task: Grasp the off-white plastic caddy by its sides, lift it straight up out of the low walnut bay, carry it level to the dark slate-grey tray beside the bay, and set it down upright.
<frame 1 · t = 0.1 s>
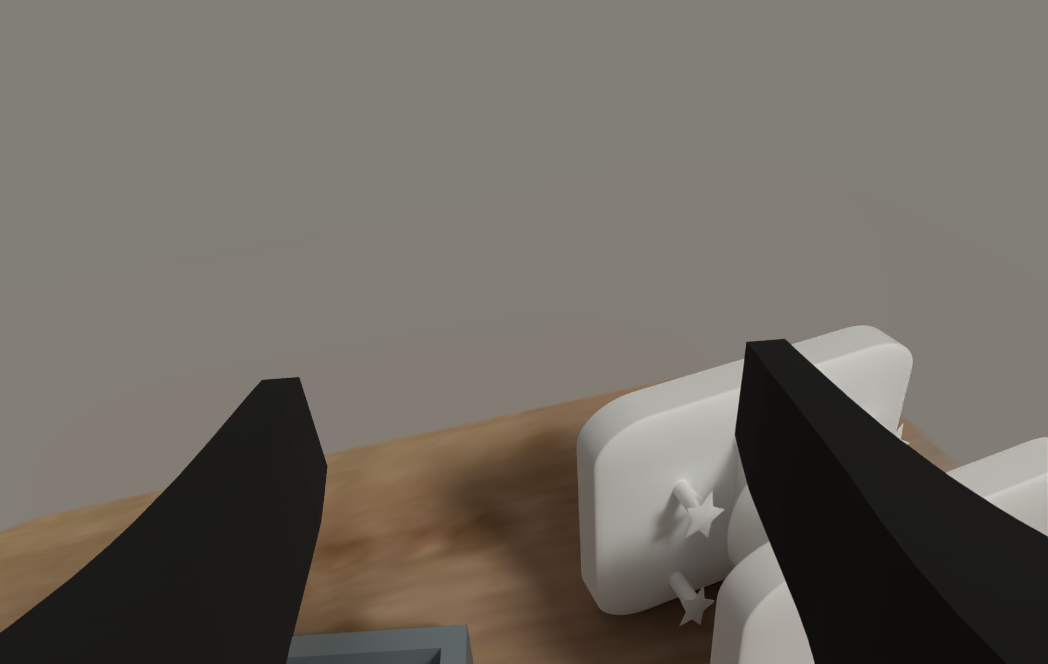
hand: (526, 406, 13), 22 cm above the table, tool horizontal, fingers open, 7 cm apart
cable organizer: (785, 634, 34), on the table
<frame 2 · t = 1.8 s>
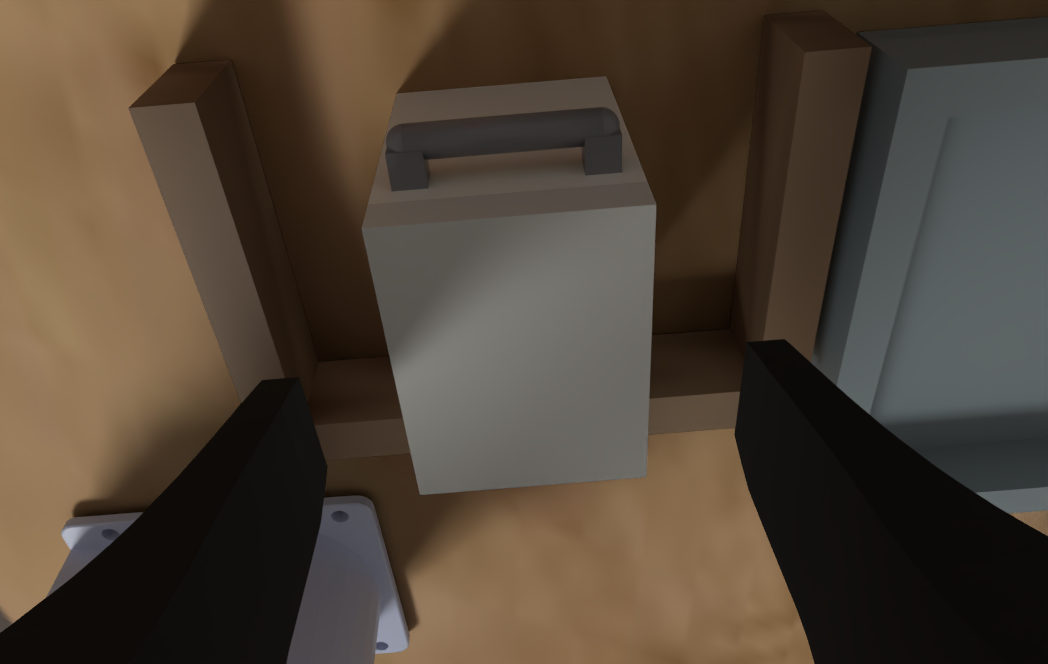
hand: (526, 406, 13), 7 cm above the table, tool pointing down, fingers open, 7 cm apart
walnut bay: (512, 211, 18), on the table
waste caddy: (512, 209, 18), on the table
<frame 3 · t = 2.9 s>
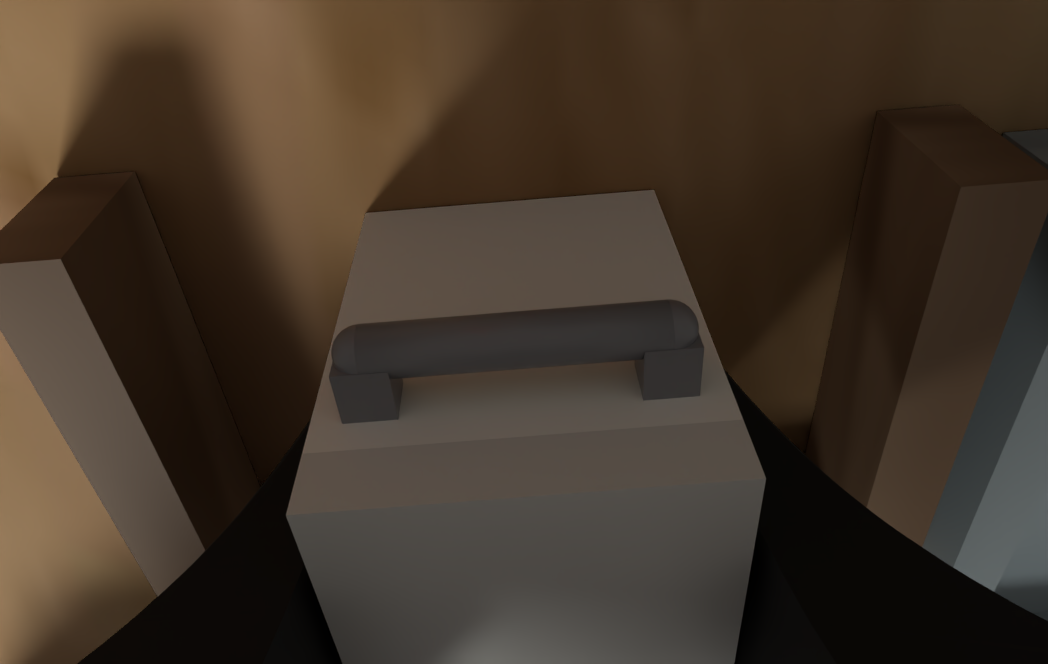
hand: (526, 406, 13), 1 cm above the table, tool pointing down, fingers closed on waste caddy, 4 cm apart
walnut bay: (523, 353, 14), on the table
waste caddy: (522, 352, 14), on the table, touching gripper
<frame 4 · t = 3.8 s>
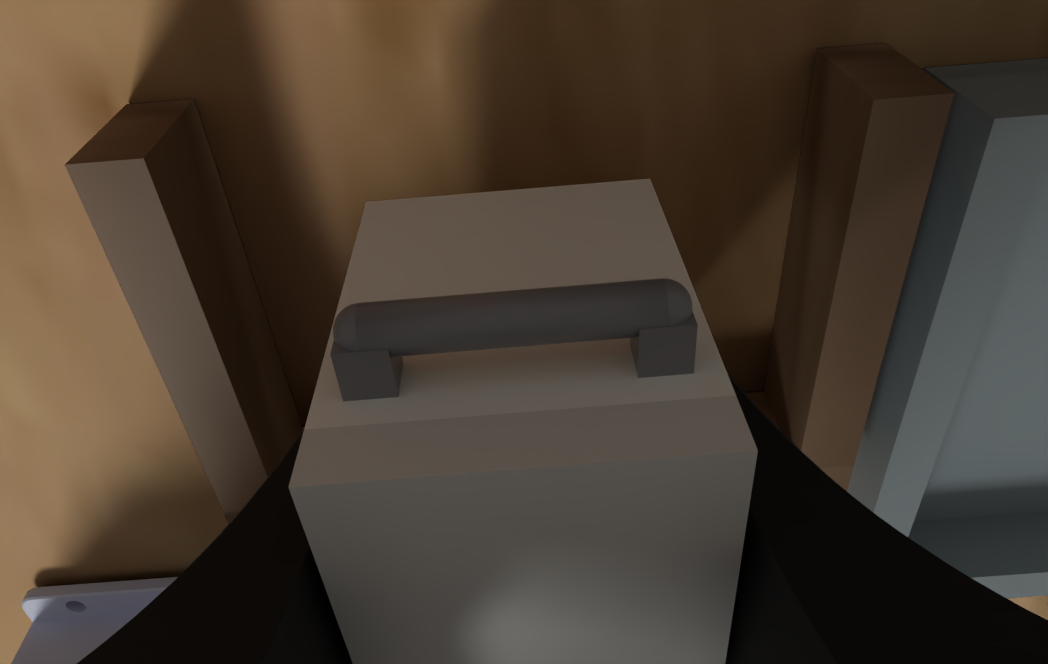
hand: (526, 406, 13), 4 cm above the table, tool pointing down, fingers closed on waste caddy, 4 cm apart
walnut bay: (520, 266, 16), on the table
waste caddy: (521, 341, 14), point 3 cm above the table, touching gripper
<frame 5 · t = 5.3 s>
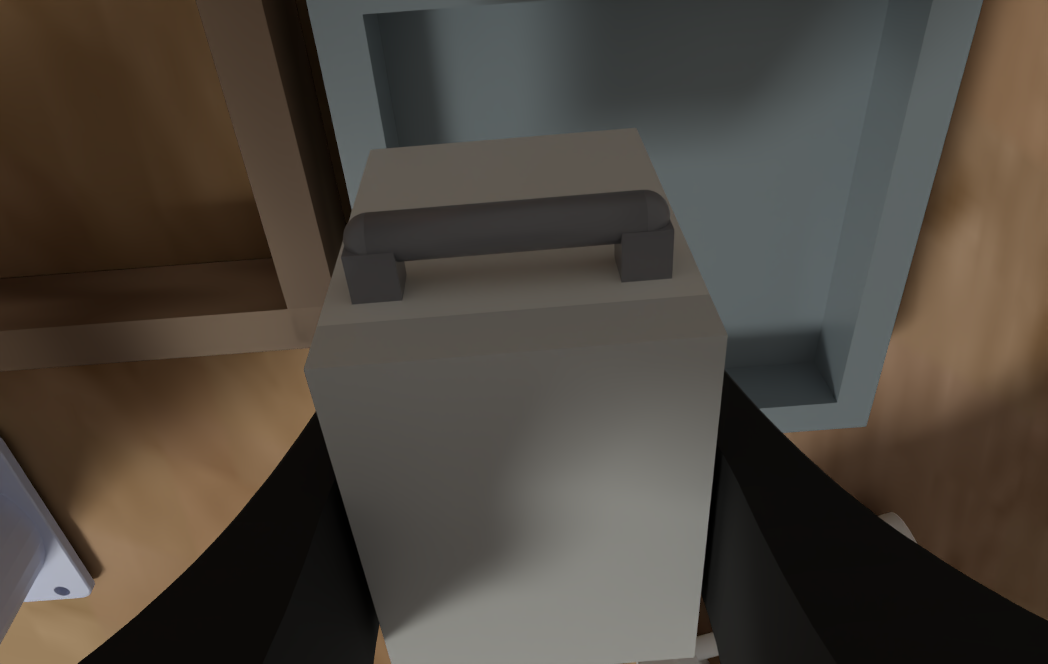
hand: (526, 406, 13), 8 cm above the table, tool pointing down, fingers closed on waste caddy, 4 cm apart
walnut bay: (34, 126, 18), on the table
cable organizer: (787, 618, 32), on the table
slate tray: (627, 196, 20), on the table
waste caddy: (516, 288, 15), point 6 cm above the table, touching gripper
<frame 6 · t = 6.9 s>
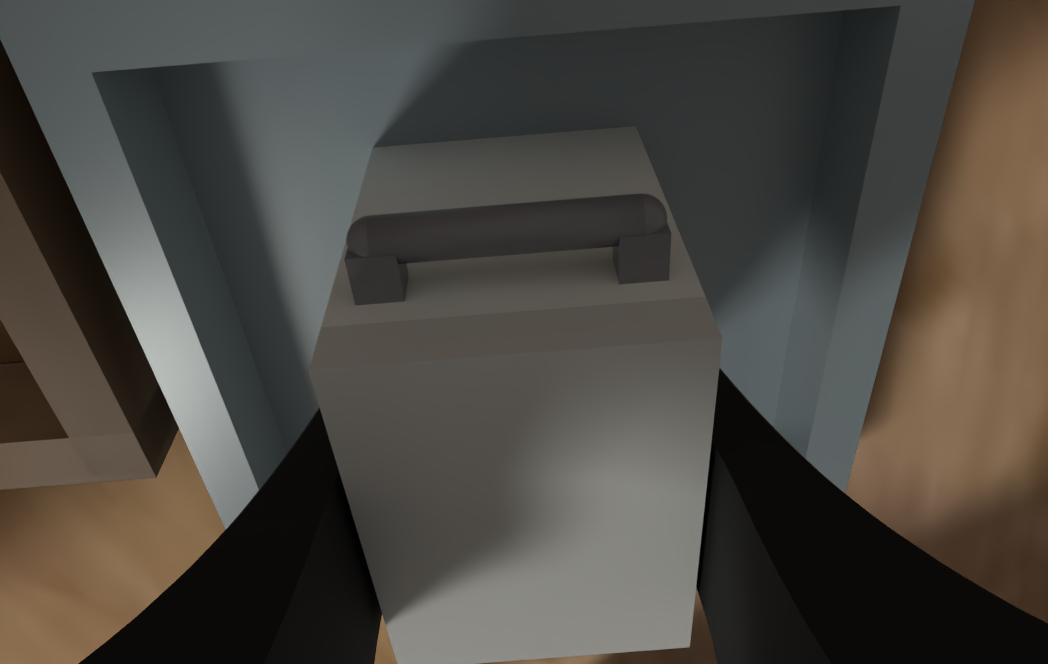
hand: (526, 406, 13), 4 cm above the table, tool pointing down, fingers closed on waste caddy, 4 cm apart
slate tray: (517, 282, 16), on the table
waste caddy: (517, 284, 15), point 1 cm above the table, touching gripper, slate tray
when the fingers open (4 cm above the table, at t = 7.0 s): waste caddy stays where it is, resting on slate tray.
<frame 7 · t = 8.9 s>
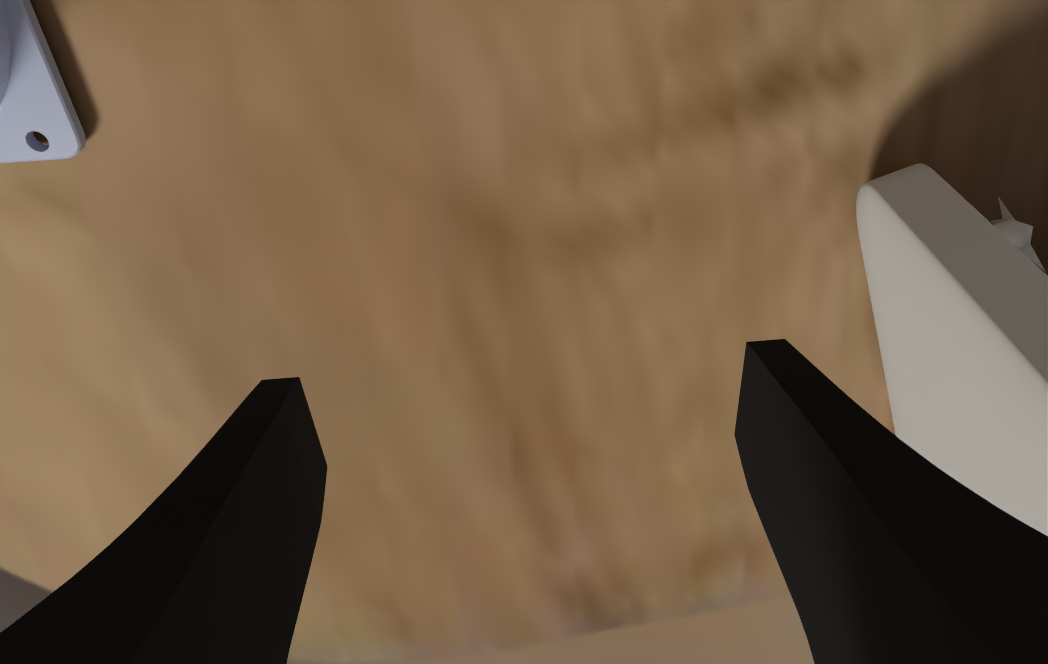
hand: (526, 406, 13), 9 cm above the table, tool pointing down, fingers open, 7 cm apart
cable organizer: (1039, 273, 23), on the table
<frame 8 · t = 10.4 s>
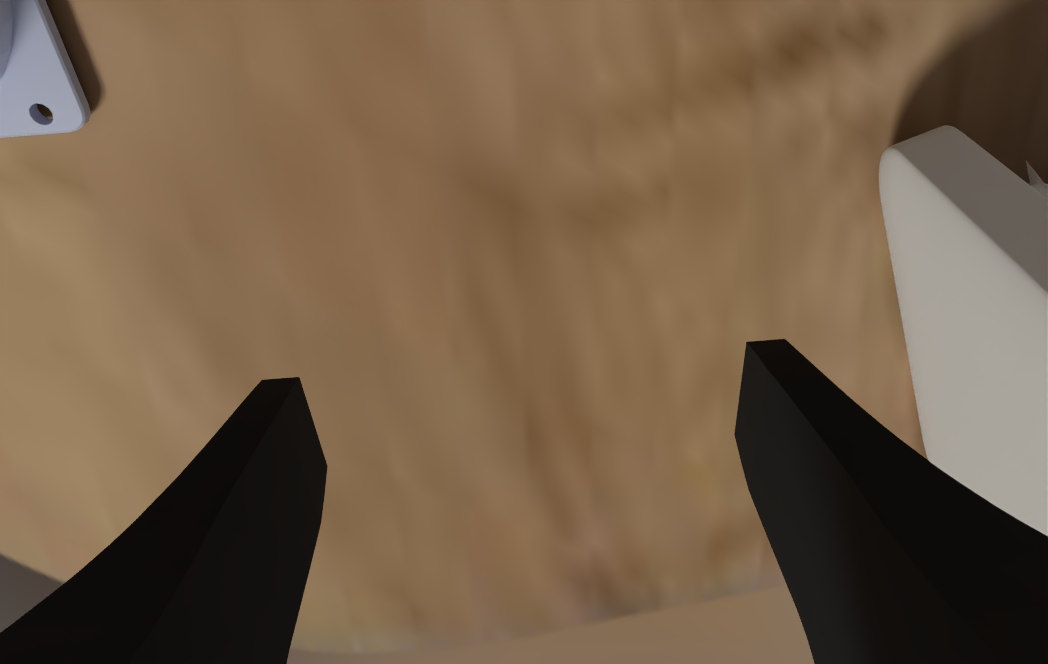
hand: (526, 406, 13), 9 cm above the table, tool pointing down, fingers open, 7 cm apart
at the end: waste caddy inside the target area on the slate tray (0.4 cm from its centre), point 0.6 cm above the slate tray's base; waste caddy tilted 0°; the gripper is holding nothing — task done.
